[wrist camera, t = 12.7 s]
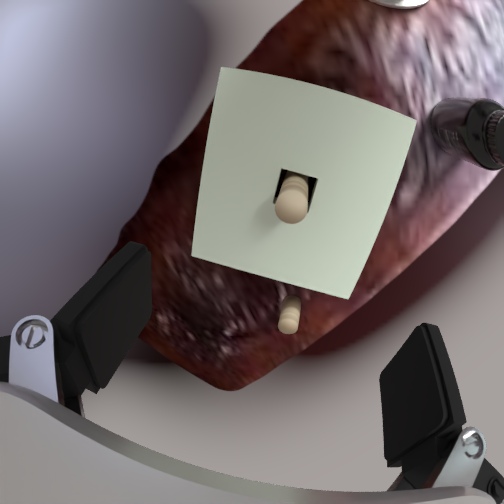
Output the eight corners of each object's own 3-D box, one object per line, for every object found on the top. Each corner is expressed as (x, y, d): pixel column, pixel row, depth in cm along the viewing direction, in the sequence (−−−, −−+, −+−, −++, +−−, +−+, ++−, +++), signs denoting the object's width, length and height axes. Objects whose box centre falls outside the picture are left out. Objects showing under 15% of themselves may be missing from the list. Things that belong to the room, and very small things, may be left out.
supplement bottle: (475, 157, 25) (534, 187, 15) (428, 151, 27) (481, 178, 16) (475, 102, 22) (538, 110, 12) (428, 93, 23) (484, 92, 13)
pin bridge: (237, 73, 27) (221, 66, 22) (398, 117, 26) (417, 120, 21) (208, 233, 37) (191, 255, 32) (344, 270, 36) (348, 299, 31)
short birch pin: (287, 292, 39) (282, 317, 35) (304, 299, 39) (301, 323, 35) (280, 305, 40) (275, 329, 36) (297, 311, 40) (293, 336, 36)
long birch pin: (289, 162, 31) (279, 189, 21) (310, 168, 31) (311, 198, 21) (283, 183, 32) (271, 218, 23) (305, 189, 32) (302, 227, 22)
